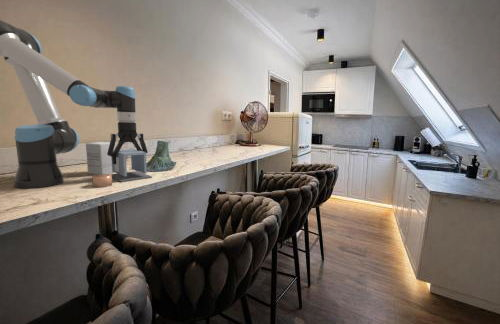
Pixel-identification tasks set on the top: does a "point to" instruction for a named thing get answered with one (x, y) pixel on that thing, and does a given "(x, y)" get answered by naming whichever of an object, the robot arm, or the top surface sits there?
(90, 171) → the supplement box
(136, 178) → the mat
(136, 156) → the blue-grey hollow block
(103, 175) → the bowl
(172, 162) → the tree stump
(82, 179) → the top surface
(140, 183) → the top surface
